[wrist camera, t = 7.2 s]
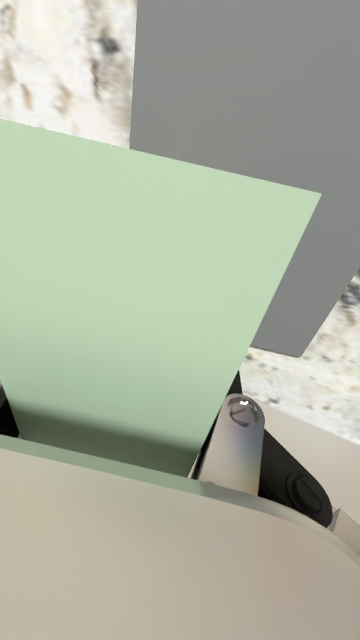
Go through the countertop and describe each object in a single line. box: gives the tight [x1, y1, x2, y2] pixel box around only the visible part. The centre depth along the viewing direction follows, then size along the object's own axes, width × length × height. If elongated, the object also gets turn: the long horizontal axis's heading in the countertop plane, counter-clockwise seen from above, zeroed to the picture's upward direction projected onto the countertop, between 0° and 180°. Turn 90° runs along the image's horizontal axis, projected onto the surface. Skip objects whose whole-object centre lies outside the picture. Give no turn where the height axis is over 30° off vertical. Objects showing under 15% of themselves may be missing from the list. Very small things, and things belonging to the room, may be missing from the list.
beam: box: [0, 119, 322, 478], centre depth 9 cm, size 5×13×6 cm, turn 169°
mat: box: [130, 0, 360, 357], centre depth 19 cm, size 22×27×1 cm
